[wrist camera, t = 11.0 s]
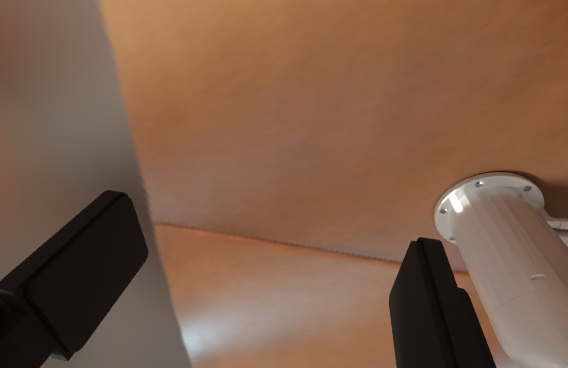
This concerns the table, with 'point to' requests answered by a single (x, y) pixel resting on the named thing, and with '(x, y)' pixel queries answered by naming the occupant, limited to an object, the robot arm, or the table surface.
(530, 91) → the table surface
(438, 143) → the table surface
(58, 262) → the robot arm
